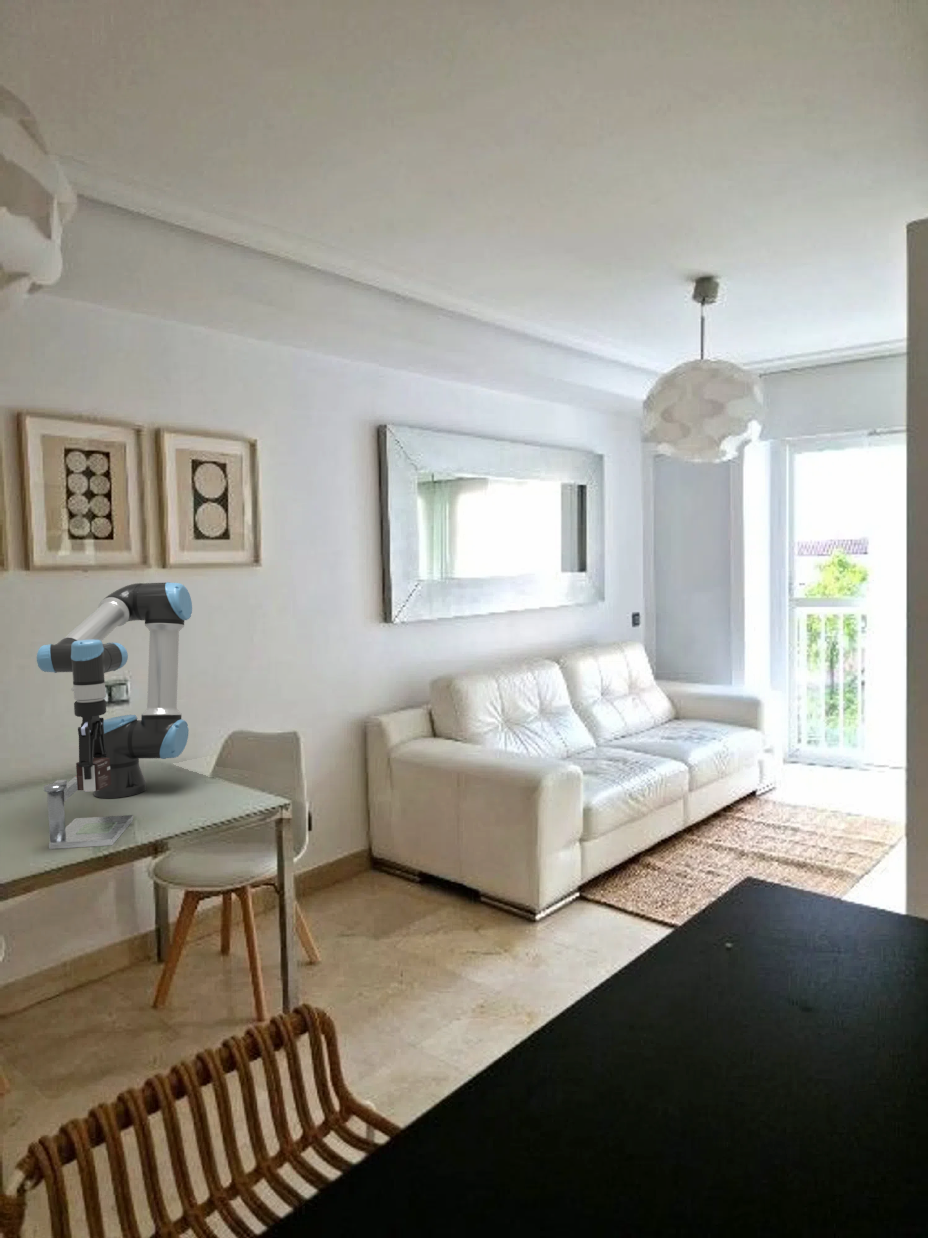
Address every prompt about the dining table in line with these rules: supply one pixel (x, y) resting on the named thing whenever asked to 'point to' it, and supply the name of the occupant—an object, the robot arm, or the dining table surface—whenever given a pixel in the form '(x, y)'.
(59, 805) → the press
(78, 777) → the box
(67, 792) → the lever
